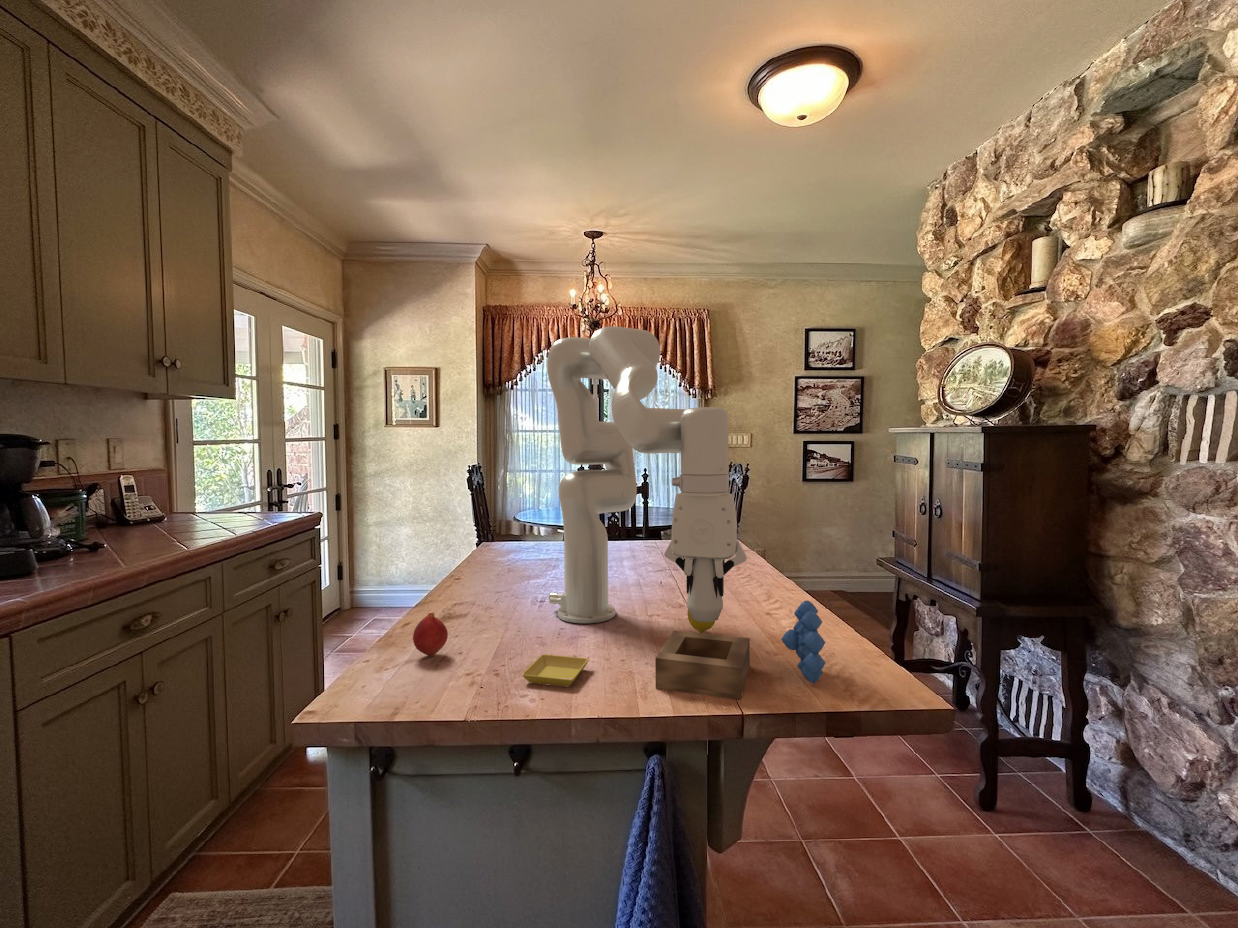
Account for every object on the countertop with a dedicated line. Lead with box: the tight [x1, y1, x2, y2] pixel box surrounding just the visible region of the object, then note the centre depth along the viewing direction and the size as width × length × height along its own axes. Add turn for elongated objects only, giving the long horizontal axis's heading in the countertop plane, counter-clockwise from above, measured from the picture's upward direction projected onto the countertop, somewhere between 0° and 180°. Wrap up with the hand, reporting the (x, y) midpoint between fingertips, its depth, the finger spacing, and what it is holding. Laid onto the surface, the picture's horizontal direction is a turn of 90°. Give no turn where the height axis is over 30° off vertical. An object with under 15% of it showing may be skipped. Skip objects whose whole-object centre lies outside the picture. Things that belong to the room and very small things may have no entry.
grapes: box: [780, 600, 826, 684], centre depth 91 cm, size 12×7×12 cm, turn 173°
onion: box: [412, 611, 449, 657], centre depth 101 cm, size 6×6×8 cm
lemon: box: [687, 609, 716, 634], centre depth 111 cm, size 6×6×8 cm
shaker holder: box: [654, 630, 751, 701], centre depth 91 cm, size 13×13×5 cm
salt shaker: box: [686, 558, 724, 622], centre depth 91 cm, size 6×6×13 cm
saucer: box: [521, 654, 590, 687], centre depth 92 cm, size 9×9×2 cm
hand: (705, 598), depth 91 cm, fingers closed on salt shaker, 3 cm apart
